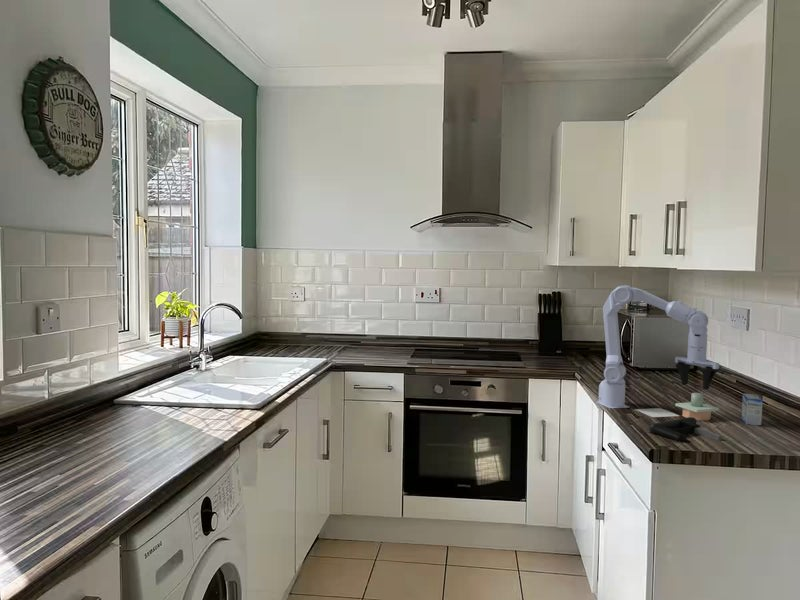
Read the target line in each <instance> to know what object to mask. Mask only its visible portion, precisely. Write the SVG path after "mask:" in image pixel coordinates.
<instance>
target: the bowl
mask: <svg viewBox="0 0 800 600" xmlns="http://www.w3.org/2000/svg"><path fill="white" fill-rule="evenodd" d="M711 415H712V411H707V412H694V411H691V410H688V409H685V408H682V415H681V416H682V417H684V418H688V417H693V418H695V419H696V421H710V419H711V418H712V417H711Z"/></svg>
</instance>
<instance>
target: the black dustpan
mask: <svg viewBox="0 0 800 600" xmlns="http://www.w3.org/2000/svg"><path fill="white" fill-rule="evenodd" d="M697 422H698V420H696V419H695V418H693V417H688V418H686V417H684V418H677V419H671V420H668V421H667V420H666V421H661V422H655V423H651V424H650V425H649V427H648V429H649V431H650V433H652V434H654V433H656V434H657V435H659V434H660V436H663V437H665V438H667V437H668V438H667V439H670V438H671V439H670V440H673V441H675V440H676V441H675V442H678V441H680V443H683V442H686V441H687V439H688V438H687V435H692V433H694V434H696V435H698V436H701V435H702V437H706V438H708V437H709V439H712V440H716V441H718V440H719V441H723V435H721V434H720V433H716V432H713V431H710V430H707V429H706V428H705V429H704V428H702V427H700V424H697Z"/></svg>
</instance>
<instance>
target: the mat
mask: <svg viewBox="0 0 800 600" xmlns="http://www.w3.org/2000/svg"><path fill="white" fill-rule="evenodd" d="M634 410H635V411H636V412H640V413H642V414H644V415H647V416H649V417H651V418H664V417H665V418H667V417H680V415H679V414H677V413H674V412H672V411H669V410H666V409H663V408H656V407H655V408H637V409H636V408H635V409H634Z"/></svg>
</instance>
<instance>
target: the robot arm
mask: <svg viewBox="0 0 800 600" xmlns="http://www.w3.org/2000/svg"><path fill="white" fill-rule="evenodd" d="M630 302H643V303H646V304H648V305H650V306H653V307H655V308H658V309H659V310H662V311H665V313H666V316H667V317H670V318H671V319H674V320H676V321H678V322H681V323H683V324H688V325H689V332H688V334H687V335H688V336H687V337H688V338H687V352H686V353H687V357H685V356H675V358H674V363H676V364H675V368H676V369H677V371H678V374H679V376H680V379H681V385H683V386H686V385H688V384H689V374H690V369H691V366H697V367H701V372H702V376H703V377H702V379H703V380H702V387H703V388H702V389H703V390H709V389H710V386H711V383H712V380H713V378H714V377H715V375H716V374H717V372H718V370H719V369H720V362H717V361H716V362H714V361H710V360H707V349H708V327H707V326H708V325H709V316H708V315H707V314H706V313H705V312H704V311H702V310H697V309H698V308H697V307H690V306H688V305H687V304H683V301H681V300H678V301H677V300H672V301H667V300H665V299H663V298H661V297H658V296H657V295H655V294H652V293H650V292H649V291H646V290H644V289H640V288H638V287H632V286H631V285H628V284H624V285H619V286H617V287H616V288H614V289H613V290H612V291H611V292H610V293H609V296H608V297H607V299H606V301H605V303H604V305H603V306H602V315H603V316H602V317H603V327H604V339H605V340H604V341H605V342H604V343H605V352H606V359H605V369H604V370H603V377H604V379H603V380H602V381H601V382H600V383H599V385H598V401H596V403H597V404H600V405H602V406H604V407H606V408H608V409H622V408H623V409H624V408H625V409H626V408H630V406H628V405H627V404H626V403H625V401H626V396H625V395H626V380H625V379H624V377H625V376H626V374H627V368H626V366H625V365H624V362H623V357H622V355H621V354H622V351H621V339H620V329H619V316H618V315H619V314H618V312H619V311H620V310H621V309H622V308H623V307H624V306H625V305H626V304H628V303H630ZM702 367H703V368H702Z"/></svg>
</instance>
